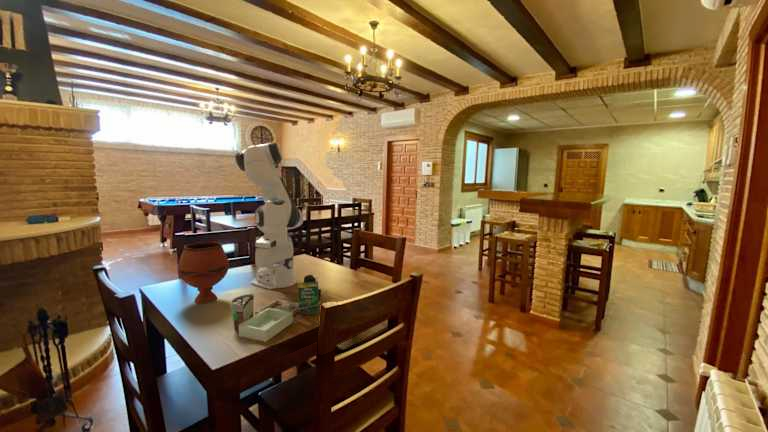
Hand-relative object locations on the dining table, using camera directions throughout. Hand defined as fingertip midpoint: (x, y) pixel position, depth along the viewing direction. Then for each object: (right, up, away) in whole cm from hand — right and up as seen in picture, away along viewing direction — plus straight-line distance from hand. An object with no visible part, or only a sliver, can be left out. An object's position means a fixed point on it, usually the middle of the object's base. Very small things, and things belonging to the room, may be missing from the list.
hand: (275, 272), depth 128 cm
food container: (-9, -18, -12) cm, 23 cm away
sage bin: (+2, -18, -14) cm, 23 cm away
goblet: (-35, -14, +10) cm, 39 cm away
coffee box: (+14, -17, -1) cm, 22 cm away
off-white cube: (0, -2, 0) cm, 2 cm away
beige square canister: (+12, -16, +11) cm, 22 cm away
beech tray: (+2, -16, +1) cm, 16 cm away
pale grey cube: (+4, -17, 0) cm, 17 cm away
